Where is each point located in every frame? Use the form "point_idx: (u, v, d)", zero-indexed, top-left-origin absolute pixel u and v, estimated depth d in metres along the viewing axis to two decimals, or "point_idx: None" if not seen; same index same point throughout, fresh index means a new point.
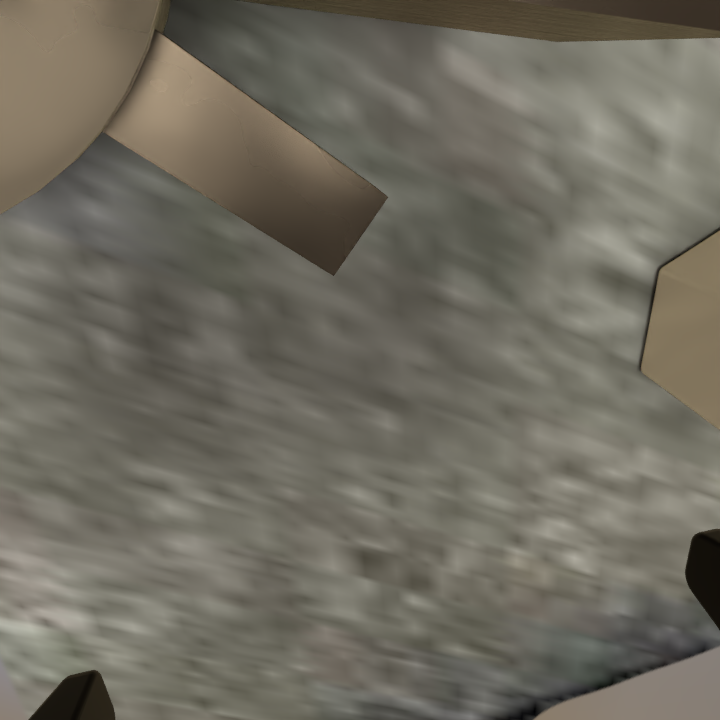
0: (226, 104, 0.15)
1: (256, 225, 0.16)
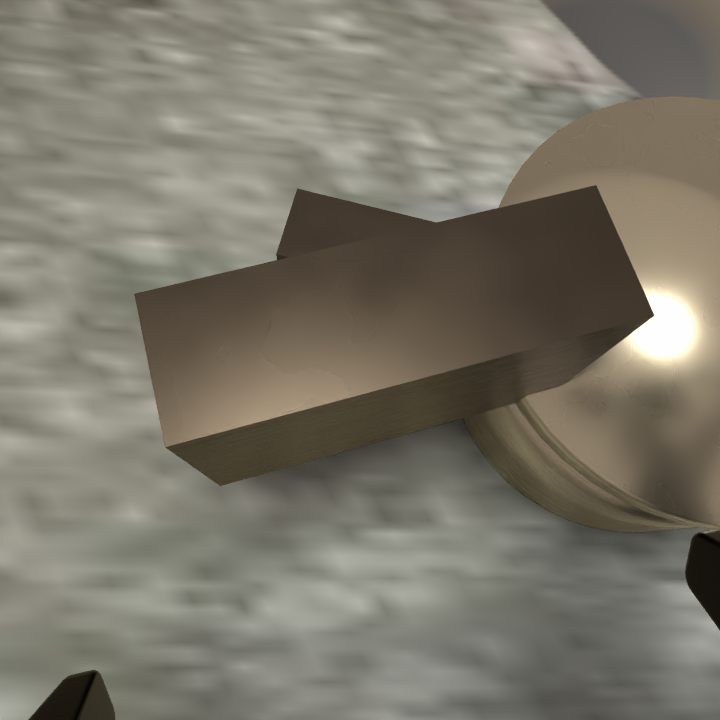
0: None
1: (367, 207, 0.21)
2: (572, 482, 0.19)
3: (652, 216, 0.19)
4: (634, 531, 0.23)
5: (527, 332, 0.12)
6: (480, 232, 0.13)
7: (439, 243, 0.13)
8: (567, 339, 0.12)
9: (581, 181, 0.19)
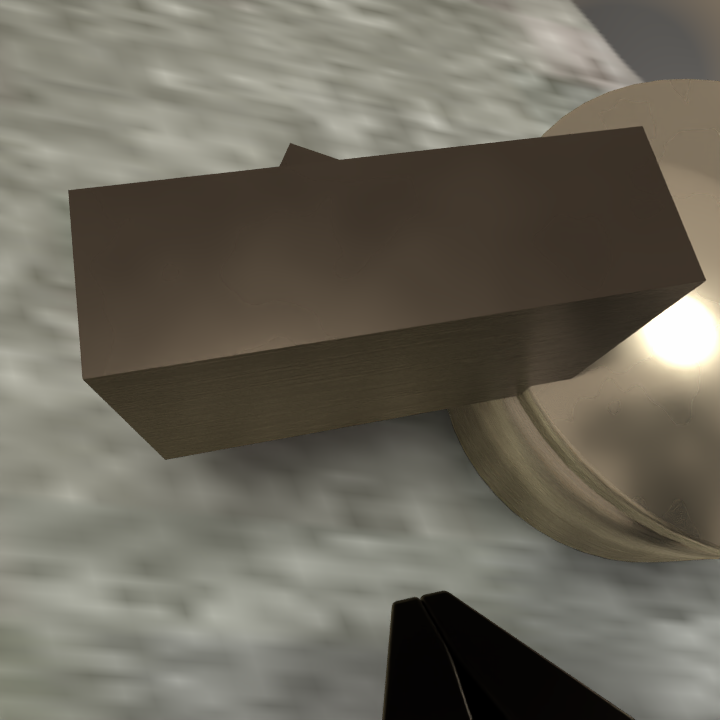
0: None
1: None
2: (572, 495, 0.17)
3: (683, 203, 0.17)
4: (631, 560, 0.20)
5: (551, 284, 0.10)
6: (502, 164, 0.10)
7: (452, 171, 0.10)
8: (600, 297, 0.10)
9: None
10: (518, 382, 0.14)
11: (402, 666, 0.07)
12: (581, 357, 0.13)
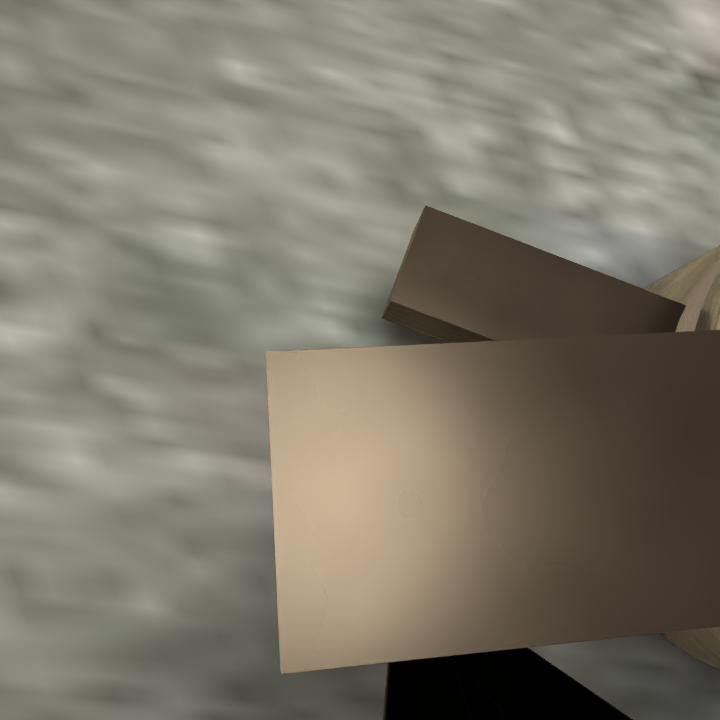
0: None
1: (520, 244, 0.15)
2: None
3: None
4: None
5: None
6: None
7: None
8: None
9: None
10: None
11: (403, 666, 0.07)
12: None
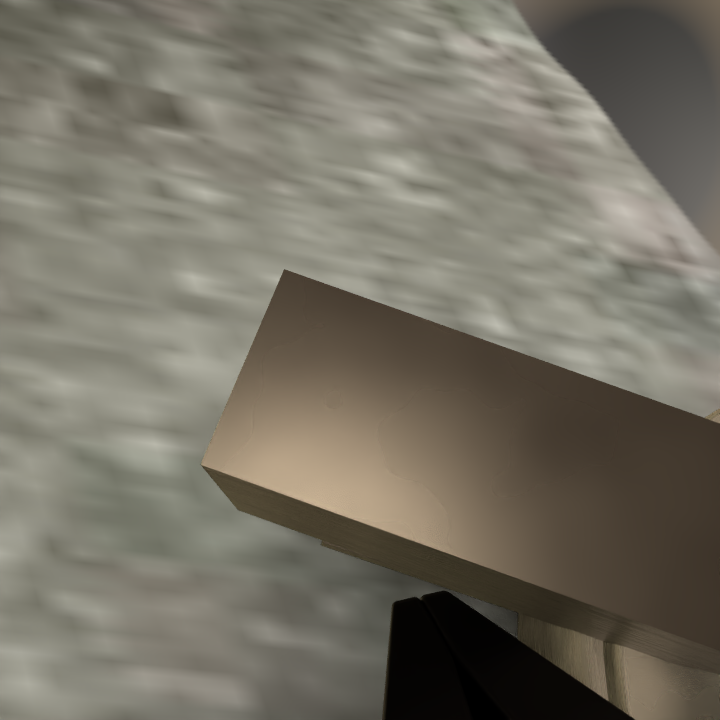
0: None
1: None
2: None
3: None
4: None
5: (716, 621, 0.08)
6: None
7: (667, 436, 0.09)
8: None
9: None
10: (614, 641, 0.12)
11: (402, 666, 0.07)
12: (699, 665, 0.11)
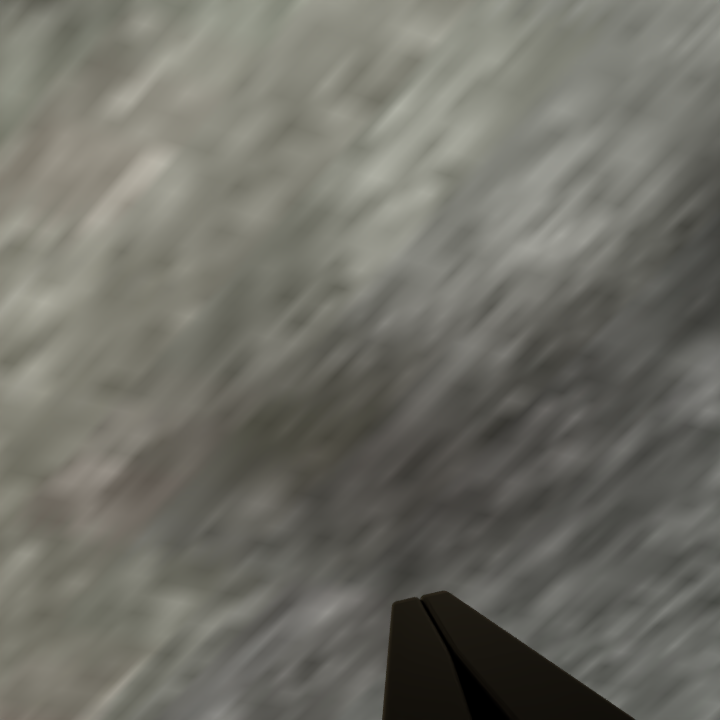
0: None
1: None
2: None
3: None
4: None
5: None
6: None
7: None
8: None
9: None
10: None
11: (402, 666, 0.07)
12: None
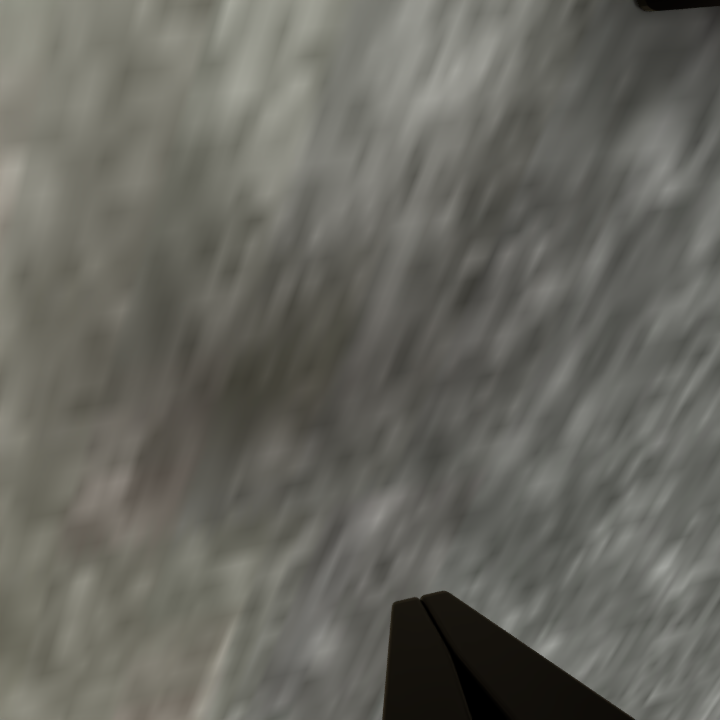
0: None
1: None
2: None
3: None
4: None
5: None
6: None
7: None
8: None
9: None
10: None
11: (402, 666, 0.07)
12: None
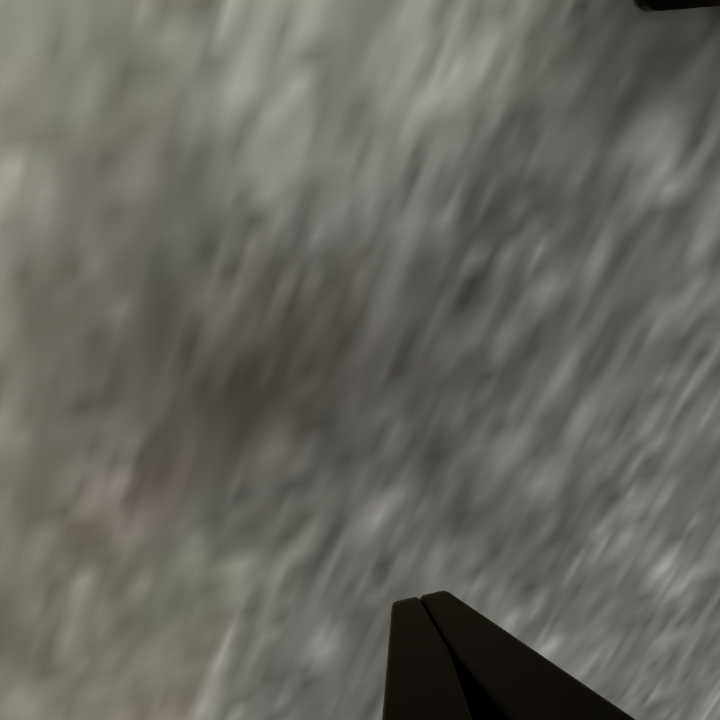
0: None
1: None
2: None
3: None
4: None
5: None
6: None
7: None
8: None
9: None
10: None
11: (402, 666, 0.07)
12: None
